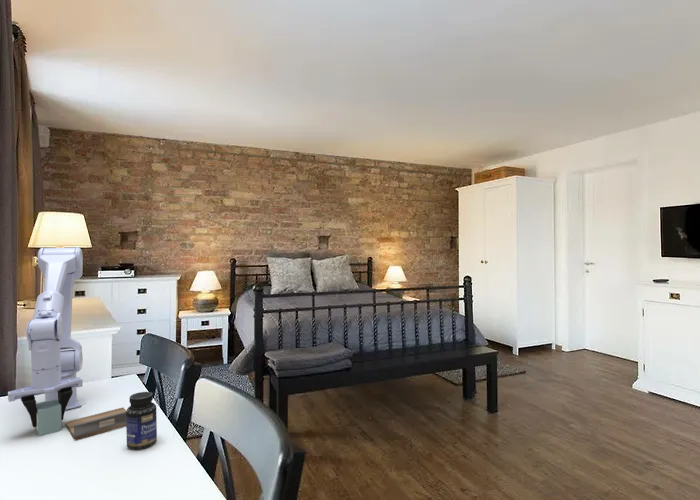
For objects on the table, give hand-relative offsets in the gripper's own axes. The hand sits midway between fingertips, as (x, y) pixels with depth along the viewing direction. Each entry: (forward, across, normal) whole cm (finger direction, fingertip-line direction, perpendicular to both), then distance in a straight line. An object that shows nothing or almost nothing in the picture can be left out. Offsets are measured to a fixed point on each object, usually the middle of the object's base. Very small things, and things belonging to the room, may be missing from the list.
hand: (47, 422), depth 102 cm
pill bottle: (+2, +14, -24) cm, 28 cm away
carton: (+2, 0, 0) cm, 2 cm away
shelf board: (+2, +10, -6) cm, 12 cm away
